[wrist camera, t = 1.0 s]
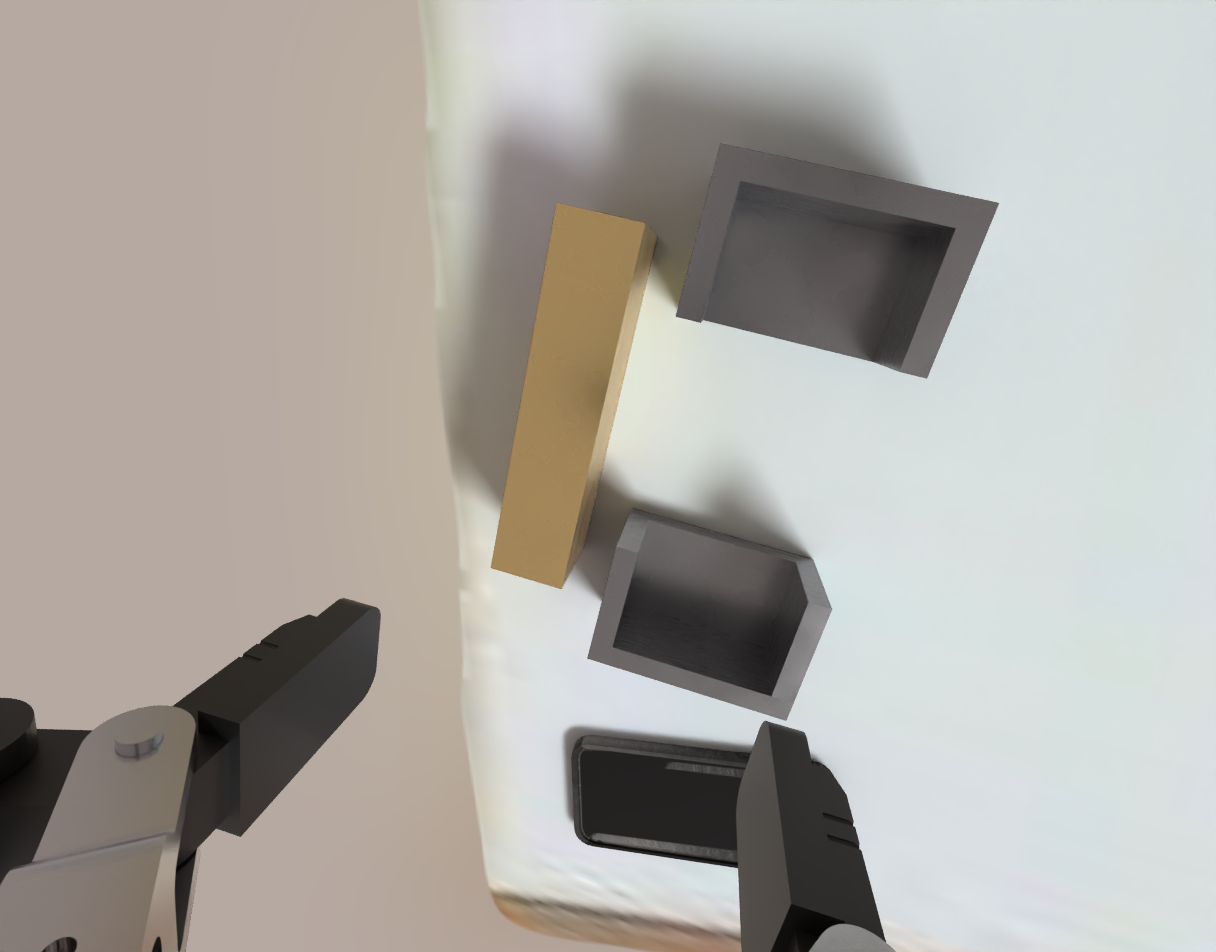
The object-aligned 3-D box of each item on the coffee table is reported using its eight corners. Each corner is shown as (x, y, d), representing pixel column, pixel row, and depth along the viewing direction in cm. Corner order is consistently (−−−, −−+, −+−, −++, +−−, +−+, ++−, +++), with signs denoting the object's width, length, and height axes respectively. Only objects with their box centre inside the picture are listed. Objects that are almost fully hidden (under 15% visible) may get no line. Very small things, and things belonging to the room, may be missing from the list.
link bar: (584, 220, 27) (556, 202, 22) (657, 237, 26) (645, 222, 21) (524, 528, 32) (490, 567, 27) (584, 545, 31) (561, 589, 27)
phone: (823, 880, 34) (574, 844, 36) (820, 863, 35) (578, 828, 37) (837, 772, 31) (570, 741, 34) (833, 757, 32) (574, 727, 35)
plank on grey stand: (719, 173, 25) (720, 143, 20) (943, 222, 24) (999, 203, 19) (606, 605, 32) (587, 658, 27) (775, 657, 31) (786, 720, 26)
